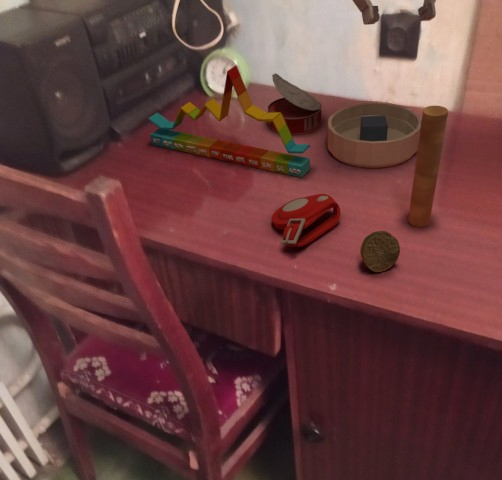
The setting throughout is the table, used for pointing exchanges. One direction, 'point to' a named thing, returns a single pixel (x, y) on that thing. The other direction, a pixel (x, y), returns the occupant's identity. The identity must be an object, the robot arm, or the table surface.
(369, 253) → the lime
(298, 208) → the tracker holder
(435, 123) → the stick
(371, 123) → the block
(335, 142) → the bowl
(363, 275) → the table surface
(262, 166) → the chart
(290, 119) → the canned food
